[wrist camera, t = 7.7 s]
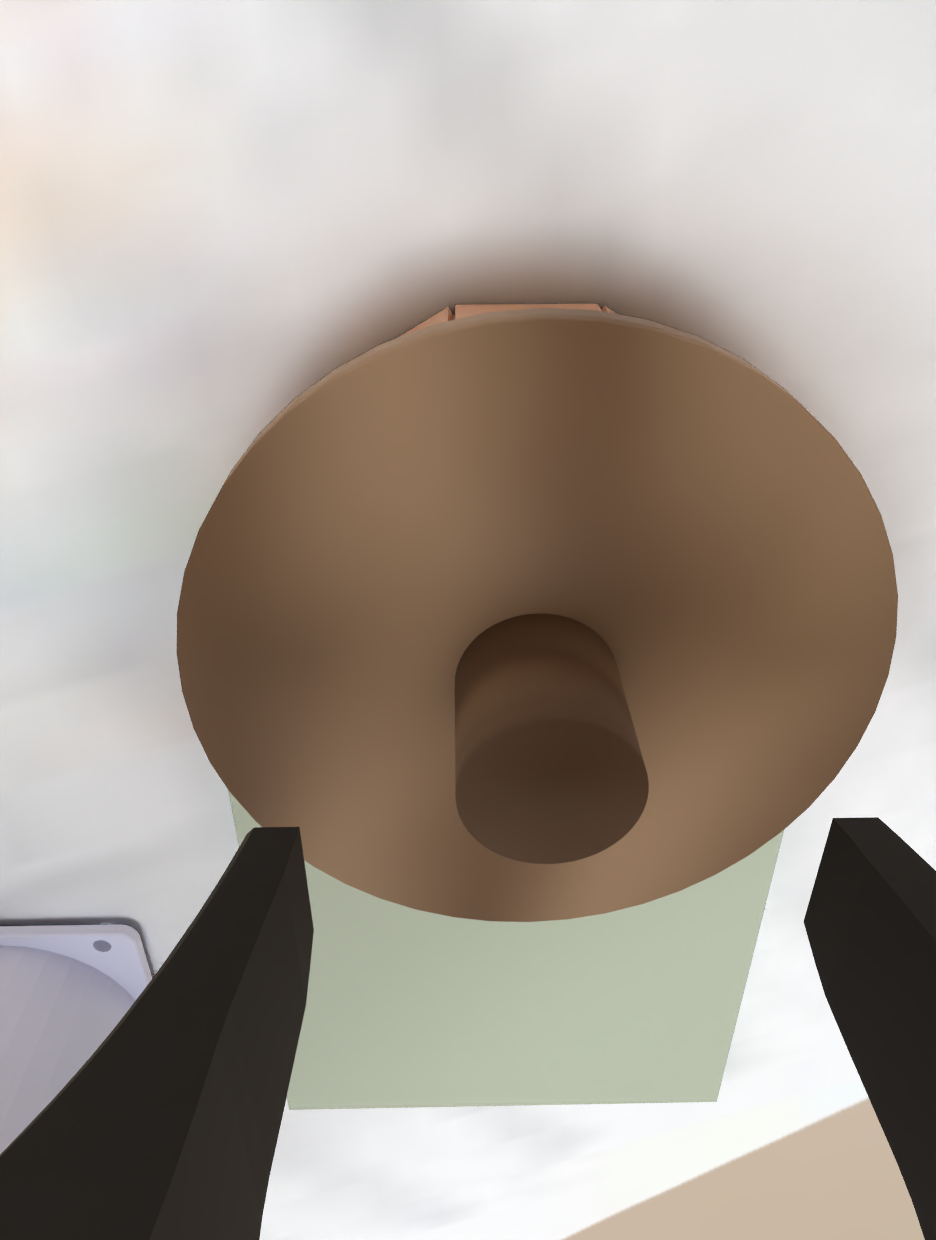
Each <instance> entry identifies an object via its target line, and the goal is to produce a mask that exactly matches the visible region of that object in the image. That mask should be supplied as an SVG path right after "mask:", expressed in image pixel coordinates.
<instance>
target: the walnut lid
mask: <svg viewBox="0 0 936 1240" xmlns="http://www.w3.org/2000/svg"><path fill="white" fill-rule="evenodd" d="M897 603H898V593H897V585H896V577H895V569H894V560H893V554H892V551H891V547H890V544H889V540H888V537H887V534H886V530H885V527H884V523H883V520H882V517H881V514H880V512H879V510H878V508H877V506H876V504H875V502H874V500H873V498H872V495H871V493H870V491H869V489H868V487H867V485H866V483H865V481H864V479H863V477H862V475H861V474H860V472H859V471H858V470H857V468H856V467H855V465H854V464H853V463H852V461H851V460H850V458H849V457H848V456H847V454H846V453H845V452H844V450H843V449H842V447H841V446H840V445H839V443H838V442H837V440H836V439H835V438H834V437H833V436H832V435H831V434H830V433H829V432H828V431H827V430H826V429H825V428H824V427H823V426H822V425H821V424H820V423H819V422H818V421H817V420H816V419H815V418H814V417H813V416H812V415H811V414H810V413H809V412H808V411H807V410H806V409H805V408H804V407H803V406H802V405H801V404H800V403H799V402H798V401H797V400H796V399H795V398H794V397H793V396H792V395H790V394H789V393H788V392H787V391H786V390H785V389H784V388H783V387H781V386H780V385H779V384H777V383H776V382H774V381H773V380H772V379H770V378H769V377H767V376H766V375H765V374H763V373H762V372H761V371H759V370H758V369H756V368H755V367H754V366H752V365H751V364H749V363H748V362H747V361H745V360H744V359H742V358H740V357H738V356H736V355H734V354H732V353H730V352H728V351H726V350H724V349H722V348H720V347H718V346H716V345H714V344H712V343H710V342H708V341H707V340H705V339H703V338H701V337H698V336H696V335H693V334H690V333H687V332H684V331H681V330H678V329H675V328H672V327H669V326H666V325H663V324H660V323H657V322H654V321H651V320H647V319H642V318H636V317H631V316H626V315H620V314H615V313H610V312H604V311H599V310H585V309H563V308H530V309H519V310H508V311H497V312H486V313H482V314H477V315H473V316H468V317H464V318H460V319H455V320H451V321H446V322H442V323H438V324H433V325H430V326H428V327H425V328H422V329H420V330H417V331H414V332H412V333H409V334H406V335H404V336H401V337H398V338H396V339H393V340H390V341H388V342H385V343H382V344H380V345H378V346H377V347H375V348H373V349H371V350H369V351H367V352H365V353H364V354H362V355H360V356H358V357H356V358H354V359H352V360H351V361H349V362H347V363H345V364H343V365H341V366H340V367H338V368H336V369H334V370H333V371H332V372H330V373H329V374H328V375H326V376H325V377H323V378H322V379H321V380H319V381H318V382H317V383H315V384H314V385H313V386H311V387H310V388H309V389H307V390H306V391H304V392H303V393H302V394H300V395H299V396H298V397H296V398H295V399H294V400H293V401H292V402H291V403H290V404H289V405H288V406H287V407H286V408H285V409H284V410H283V411H282V412H281V413H280V414H279V415H277V416H276V417H275V418H274V419H273V420H272V421H271V422H270V423H269V424H268V425H267V426H266V427H265V428H264V429H263V430H262V431H261V432H260V433H259V434H258V436H257V437H256V438H255V440H254V441H253V442H252V444H251V445H250V446H249V448H248V449H247V450H246V452H245V453H244V454H243V456H242V457H241V458H240V460H239V461H238V462H237V464H236V465H235V466H234V468H233V469H232V470H231V472H230V474H229V476H228V477H227V479H226V481H225V483H224V485H223V486H222V488H221V490H220V492H219V494H218V496H217V497H216V499H215V501H214V503H213V505H212V507H211V509H210V511H209V512H208V514H207V516H206V518H205V520H204V522H203V524H202V525H201V527H200V529H199V532H198V534H197V537H196V540H195V543H194V546H193V549H192V552H191V555H190V557H189V560H188V563H187V566H186V569H185V572H184V578H183V583H182V589H181V595H180V600H179V606H178V612H177V658H178V665H179V672H180V678H181V685H182V692H183V695H184V698H185V702H186V705H187V708H188V711H189V715H190V718H191V721H192V724H193V727H194V730H195V732H196V734H197V736H198V738H199V740H200V742H201V744H202V746H203V748H204V751H205V753H206V755H207V757H208V759H209V761H210V763H211V764H212V766H213V767H214V769H215V770H216V772H217V773H218V775H219V776H220V778H221V779H222V781H223V782H224V784H225V785H226V787H227V788H228V790H229V791H230V793H231V794H232V795H233V796H234V797H235V798H236V800H237V801H238V802H239V803H240V804H241V805H242V806H243V808H244V809H245V810H246V811H247V812H248V813H249V814H250V816H251V817H252V818H253V819H254V820H255V821H256V822H257V823H258V824H259V825H260V826H262V827H300V834H301V841H302V849H303V856H304V860H305V861H306V862H307V863H309V864H310V865H312V866H313V867H315V868H317V869H319V870H321V871H322V872H324V873H326V874H328V875H330V876H332V877H333V878H335V879H337V880H339V881H341V882H343V883H344V884H346V885H349V886H351V887H354V888H356V889H358V890H361V891H363V892H366V893H368V894H370V895H373V896H375V897H378V898H380V899H383V900H386V901H390V902H393V903H396V904H399V905H403V906H406V907H409V908H413V909H416V910H421V911H425V912H430V913H435V914H440V915H445V916H450V917H456V918H465V919H474V920H484V921H499V922H538V921H552V920H566V919H574V918H580V917H586V916H592V915H599V914H605V913H609V912H613V911H617V910H621V909H625V908H629V907H633V906H637V905H641V904H645V903H647V902H650V901H653V900H656V899H659V898H662V897H665V896H667V895H670V894H673V893H676V892H679V891H681V890H683V889H686V888H688V887H690V886H692V885H694V884H697V883H699V882H701V881H703V880H705V879H708V878H710V877H712V876H714V875H716V874H718V873H719V872H721V871H723V870H725V869H726V868H728V867H730V866H732V865H733V864H735V863H737V862H738V861H740V860H742V859H744V858H745V857H747V856H749V855H750V854H752V853H753V852H754V851H756V850H757V849H759V848H760V847H761V846H763V845H764V844H765V843H767V842H768V841H770V840H771V839H772V838H774V837H775V836H777V835H778V834H779V833H781V832H782V831H783V830H784V829H785V828H786V827H787V826H788V825H790V824H791V823H792V822H793V821H794V820H795V819H796V818H797V817H798V816H800V815H801V814H802V813H803V812H804V811H805V810H806V809H807V808H809V807H810V805H811V804H812V803H813V802H814V801H815V800H816V799H817V798H818V796H819V795H820V794H821V793H822V792H823V791H824V790H825V789H826V787H827V786H828V785H829V784H830V783H831V782H832V781H833V780H834V779H835V777H836V776H837V774H838V773H839V771H840V770H841V769H842V767H843V766H844V764H845V763H846V761H847V760H848V759H849V757H850V756H851V754H852V753H853V751H854V750H855V749H856V747H857V746H858V744H859V742H860V740H861V738H862V736H863V734H864V732H865V730H866V728H867V726H868V724H869V723H870V721H871V719H872V717H873V715H874V713H875V711H876V708H877V705H878V702H879V700H880V697H881V694H882V691H883V688H884V686H885V683H886V680H887V677H888V674H889V669H890V664H891V659H892V654H893V649H894V644H895V639H896V627H897Z"/></svg>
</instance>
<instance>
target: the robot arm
mask: <svg viewBox="0 0 936 1240" xmlns="http://www.w3.org/2000/svg"><path fill="white" fill-rule="evenodd" d="M804 924H805V928H806V931H807V935H808V938H809V942H810V946H811V949H812V953H813V956H814V960H815V963H816V967H817V970H818V973H819V976H820V980H821V983H822V986H823V989H824V993H825V996H826V998H827V1001H828V1003H829V1005H830V1008H831V1010H832V1013H833V1015H834V1017H835V1020H836V1022H837V1025H838V1027H839V1029H840V1032H841V1034H842V1036H843V1039H844V1041H845V1043H846V1046H847V1048H848V1050H849V1053H850V1055H851V1057H852V1060H853V1062H854V1064H855V1067H856V1069H857V1071H858V1074H859V1076H860V1078H861V1080H862V1083H863V1085H864V1087H865V1090H866V1092H867V1094H868V1097H869V1099H870V1101H871V1104H872V1106H873V1108H874V1110H875V1113H876V1115H877V1117H878V1120H879V1122H880V1124H881V1127H882V1129H883V1131H884V1134H885V1136H886V1138H887V1140H888V1142H889V1145H890V1147H891V1150H892V1152H893V1154H894V1156H895V1159H896V1161H897V1163H898V1166H899V1168H900V1171H901V1174H902V1176H903V1179H904V1181H905V1184H906V1187H907V1189H908V1192H909V1194H910V1197H911V1199H912V1202H913V1205H914V1208H915V1211H916V1214H917V1217H918V1220H919V1223H920V1226H921V1229H922V1232H923V1235H924V1238H925V1240H936V871H935V870H934V869H933V868H932V867H931V866H930V865H929V864H928V863H927V862H926V861H925V860H924V859H922V858H921V857H920V856H919V855H918V854H917V853H916V852H915V851H914V850H913V849H912V848H911V847H910V846H909V845H908V844H906V843H905V842H904V841H903V840H902V839H901V838H900V837H899V836H898V835H897V834H896V833H895V832H893V831H892V830H891V829H890V828H889V827H888V826H887V825H886V824H885V823H884V822H882V821H881V820H880V819H879V818H833V820H832V824H831V827H830V831H829V834H828V838H827V841H826V845H825V848H824V852H823V855H822V859H821V863H820V866H819V870H818V873H817V877H816V880H815V884H814V887H813V891H812V894H811V898H810V901H809V905H808V908H807V912H806V915H805V919H804ZM313 933H314V928H313V920H312V913H311V906H310V899H309V892H308V885H307V877H306V870H305V863H304V856H303V849H302V841H301V834H300V827H254V828H253V829H252V830H251V831H249V832H248V833H247V834H246V836H245V838H244V840H243V841H242V843H241V845H240V847H239V849H238V850H237V852H236V854H235V855H234V857H233V859H232V861H231V862H230V864H229V866H228V867H227V869H226V871H225V872H224V874H223V876H222V877H221V879H220V880H219V882H218V884H217V885H216V887H215V888H214V890H213V892H212V893H211V895H210V896H209V898H208V899H207V901H206V902H205V904H204V906H203V907H202V909H201V910H200V912H199V913H198V915H197V916H196V918H195V919H194V921H193V922H192V923H191V925H190V926H189V928H188V929H187V931H186V932H185V934H184V935H183V936H182V938H181V939H180V941H179V942H178V944H177V945H176V947H175V948H174V950H173V951H172V952H171V954H170V955H169V957H168V958H167V960H166V961H165V962H164V964H163V965H162V967H161V968H160V969H159V971H158V972H157V973H156V975H155V976H154V977H153V979H152V976H151V972H150V969H149V965H148V962H147V959H146V955H145V952H144V948H143V945H142V942H141V938H140V935H139V934H138V932H137V931H136V930H135V929H134V928H132V927H130V926H127V925H121V924H116V925H53V926H0V1240H259V1237H260V1229H261V1221H262V1215H263V1209H264V1203H265V1198H266V1192H267V1186H268V1181H269V1175H270V1171H271V1166H272V1162H273V1157H274V1152H275V1148H276V1143H277V1138H278V1134H279V1129H280V1125H281V1120H282V1115H283V1111H284V1106H285V1101H286V1097H287V1092H288V1088H289V1083H290V1078H291V1074H292V1069H293V1064H294V1060H295V1055H296V1050H297V1046H298V1041H299V1036H300V1031H301V1027H302V1022H303V1017H304V1012H305V1007H306V1000H307V991H308V982H309V973H310V964H311V954H312V943H313Z"/></svg>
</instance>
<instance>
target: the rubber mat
mask: <svg viewBox="0 0 936 1240" xmlns="http://www.w3.org/2000/svg"><path fill="white" fill-rule="evenodd" d="M228 791H229V790H228ZM229 796H230V801H231V806H232V812H233V817H234V822H235V827H236V833H237V838H238V843H239V847H240V845H241V843H242V841H243V840H244V838H245V836H246V834H247V833H248V832H249V831H251V830H252V829H253V828H254V827H262V826H260V825H259V824H258V823H257V822H256V821H255V820H254V819H253V818H252V817H251V816H250V814H249V813H248V812H247V811H246V810H245V809H244V808H243V806H242V805H241V804H240V803H239V802H238V801H237V800H236V798H235V797H234V796H233V795H232V794H231V793H230V791H229ZM783 832H784V830H783V831H782V832H781V833H779V834H778V835H777V836H775V837H774V838H772V839H771V840H770V841H768V842H767V843H765V844H764V845H763V846H761V847H760V848H759V849H757V850H756V851H754V852H753V853H752V854H750V855H749V856H747V857H745V858H744V859H742V860H740V861H738V862H737V863H735V864H733V865H732V866H730V867H728V868H726V869H725V870H723V871H721V872H719V873H718V874H716V875H714V876H712V877H710V878H708V879H705V880H703V881H701V882H699V883H697V884H694V885H692V886H690V887H688V888H686V889H683V890H681V891H679V892H676V893H673V894H670V895H667V896H665V897H662V898H659V899H656V900H653V901H650V902H647V903H645V904H641V905H637V906H633V907H629V908H625V909H621V910H617V911H613V912H609V913H605V914H599V915H592V916H586V917H580V918H574V919H566V920H552V921H538V922H499V921H484V920H474V919H465V918H456V917H450V916H445V915H440V914H435V913H430V912H425V911H421V910H416V909H413V908H409V907H406V906H403V905H399V904H396V903H393V902H390V901H386V900H383V899H380V898H378V897H375V896H373V895H370V894H368V893H366V892H363V891H361V890H358V889H356V888H354V887H351V886H349V885H346V884H344V883H343V882H341V881H339V880H337V879H335V878H333V877H332V876H330V875H328V874H326V873H324V872H322V871H321V870H319V869H317V868H315V867H313V866H312V865H310V864H309V863H307V862H306V861H305V860H304V863H305V870H306V877H307V885H308V892H309V899H310V906H311V913H312V920H313V928H314V933H313V943H312V954H311V964H310V973H309V982H308V991H307V1000H306V1007H305V1012H304V1017H303V1022H302V1027H301V1031H300V1036H299V1041H298V1046H297V1050H296V1055H295V1060H294V1064H293V1069H292V1074H291V1078H290V1083H289V1088H288V1092H287V1100H288V1105H289V1110H295V1109H349V1108H402V1107H456V1106H510V1105H563V1104H617V1103H671V1102H717V1098H718V1094H719V1090H720V1086H721V1081H722V1077H723V1073H724V1069H725V1065H726V1061H727V1057H728V1053H729V1049H730V1045H731V1041H732V1037H733V1033H734V1029H735V1025H736V1021H737V1017H738V1013H739V1009H740V1005H741V1001H742V997H743V993H744V989H745V985H746V981H747V977H748V973H749V969H750V965H751V961H752V957H753V953H754V949H755V945H756V941H757V937H758V933H759V929H760V925H761V921H762V917H763V912H764V908H765V904H766V900H767V896H768V892H769V888H770V884H771V880H772V876H773V872H774V868H775V864H776V860H777V856H778V852H779V848H780V844H781V840H782V836H783Z"/></svg>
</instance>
